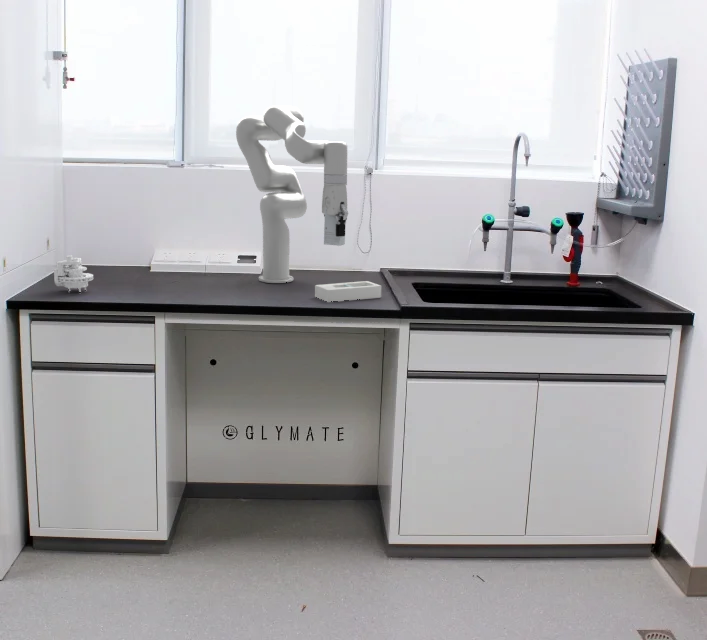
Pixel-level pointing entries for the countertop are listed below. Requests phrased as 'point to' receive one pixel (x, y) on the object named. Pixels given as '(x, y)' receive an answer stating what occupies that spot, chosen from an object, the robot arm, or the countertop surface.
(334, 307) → the countertop surface
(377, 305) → the countertop surface
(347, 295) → the holder
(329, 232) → the skincare box
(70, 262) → the mechanical part
